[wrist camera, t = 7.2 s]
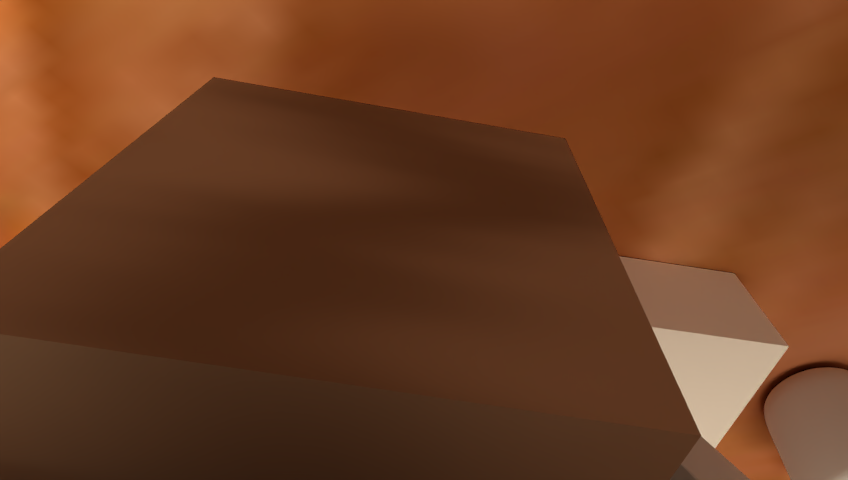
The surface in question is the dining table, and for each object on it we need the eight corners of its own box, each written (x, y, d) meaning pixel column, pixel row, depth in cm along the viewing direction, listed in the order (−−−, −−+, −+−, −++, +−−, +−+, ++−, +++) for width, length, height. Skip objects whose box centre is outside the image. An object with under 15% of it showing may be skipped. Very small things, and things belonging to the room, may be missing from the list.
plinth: (734, 273, 31) (789, 346, 26) (644, 425, 39) (673, 504, 34) (499, 238, 31) (509, 306, 26) (454, 400, 38) (455, 477, 33)
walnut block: (565, 138, 9) (701, 435, 4) (486, 376, 13) (509, 702, 8) (214, 77, 9) (-91, 321, 4) (227, 338, 12) (71, 653, 7)
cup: (849, 449, 40) (930, 563, 33) (735, 459, 41) (791, 571, 34) (888, 344, 34) (995, 456, 27) (754, 358, 35) (826, 469, 28)
